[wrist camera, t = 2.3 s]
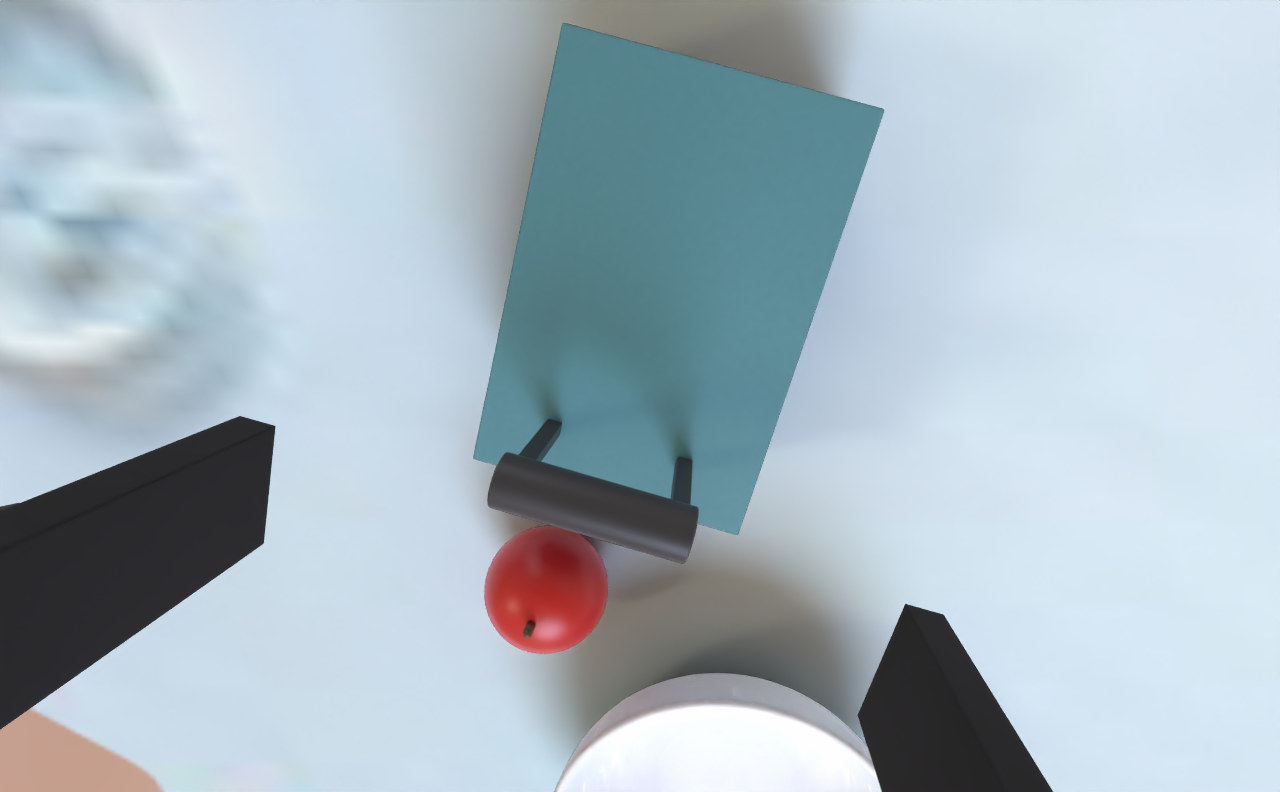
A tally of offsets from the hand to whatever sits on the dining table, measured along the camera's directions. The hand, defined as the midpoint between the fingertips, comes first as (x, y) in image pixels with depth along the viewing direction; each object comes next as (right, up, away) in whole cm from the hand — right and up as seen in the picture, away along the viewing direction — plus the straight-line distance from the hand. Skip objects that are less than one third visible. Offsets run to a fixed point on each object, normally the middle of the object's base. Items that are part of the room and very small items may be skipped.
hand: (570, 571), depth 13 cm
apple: (-4, -7, +23) cm, 25 cm away
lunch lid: (+2, +8, +14) cm, 16 cm away
